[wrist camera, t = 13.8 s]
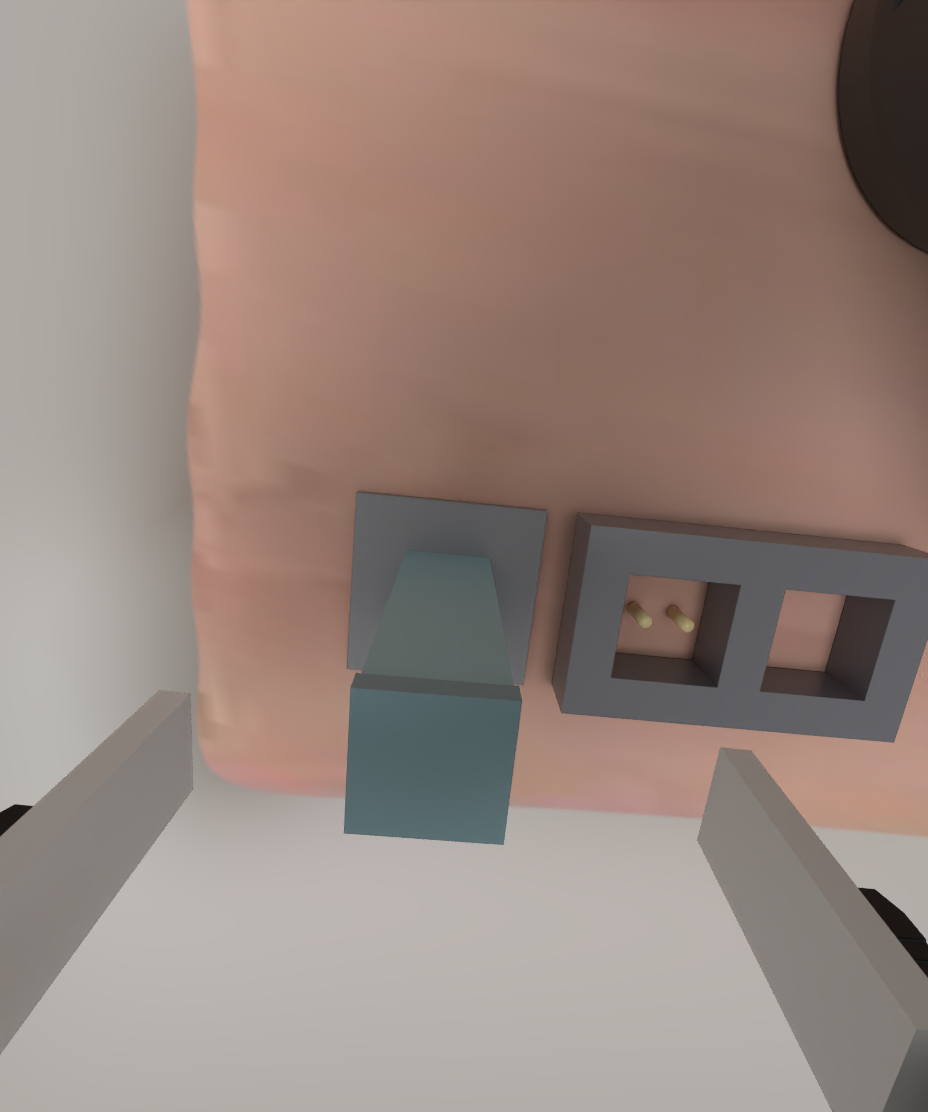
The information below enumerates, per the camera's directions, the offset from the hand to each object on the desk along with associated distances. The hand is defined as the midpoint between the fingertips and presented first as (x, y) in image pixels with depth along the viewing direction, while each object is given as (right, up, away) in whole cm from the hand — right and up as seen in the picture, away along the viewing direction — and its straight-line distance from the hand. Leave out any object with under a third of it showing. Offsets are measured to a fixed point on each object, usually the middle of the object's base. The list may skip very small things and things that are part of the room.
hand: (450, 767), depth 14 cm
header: (+13, +2, +15) cm, 20 cm away
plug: (-1, +3, +14) cm, 14 cm away
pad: (-1, +4, +14) cm, 15 cm away
